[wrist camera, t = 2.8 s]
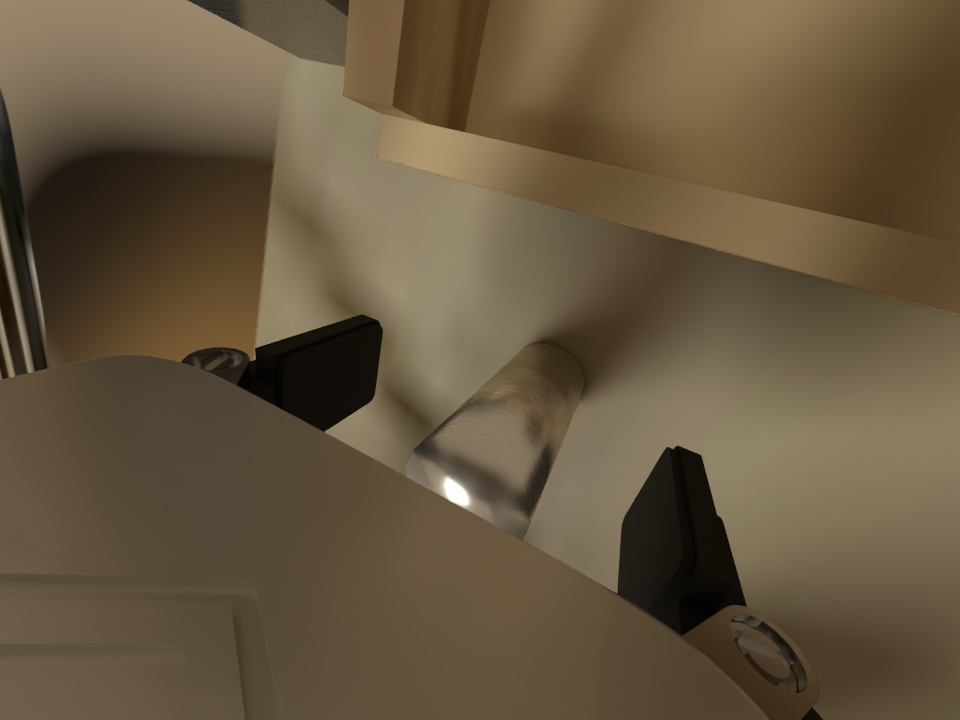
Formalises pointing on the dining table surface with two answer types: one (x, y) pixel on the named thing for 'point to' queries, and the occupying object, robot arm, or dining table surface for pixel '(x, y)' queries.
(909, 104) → the tray
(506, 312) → the dining table surface
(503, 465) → the pin
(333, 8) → the grey hollow block
